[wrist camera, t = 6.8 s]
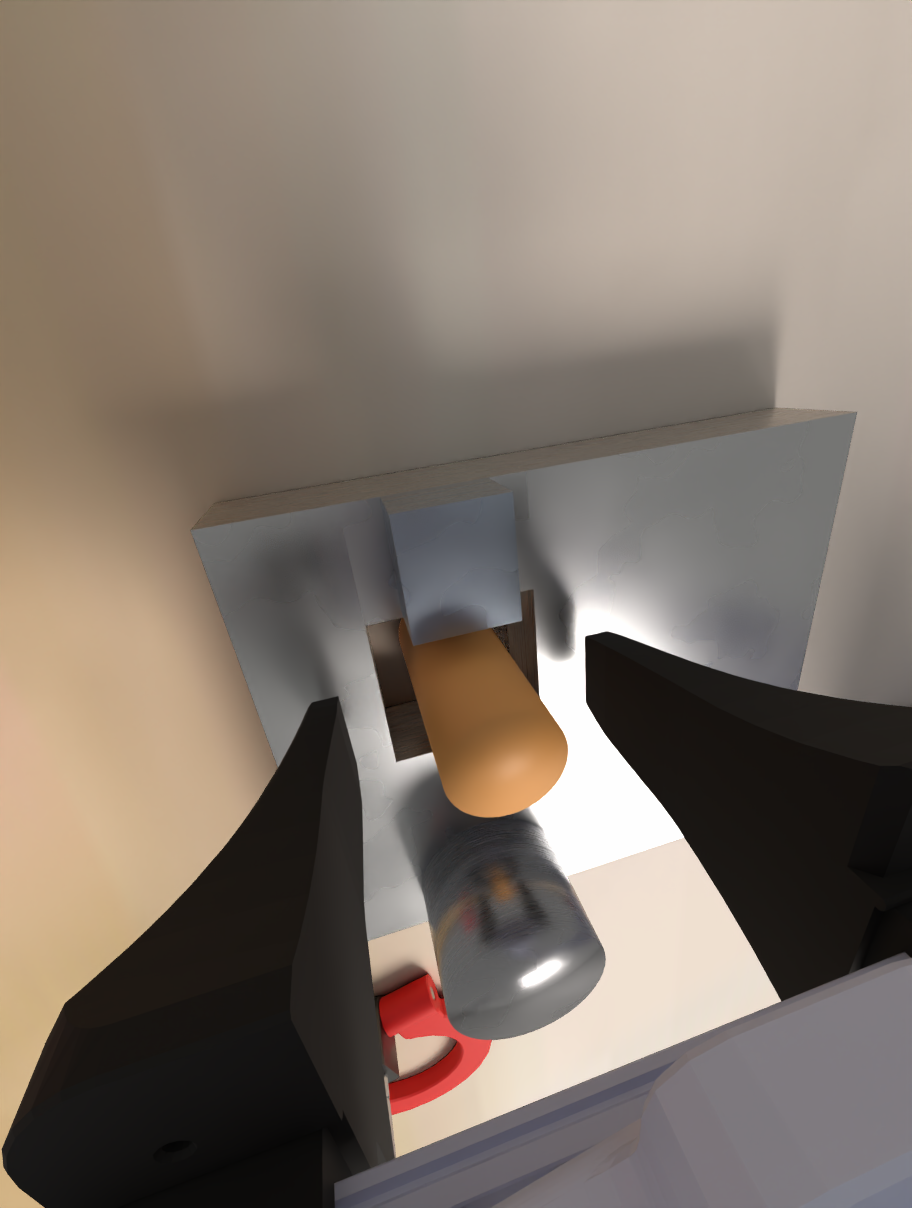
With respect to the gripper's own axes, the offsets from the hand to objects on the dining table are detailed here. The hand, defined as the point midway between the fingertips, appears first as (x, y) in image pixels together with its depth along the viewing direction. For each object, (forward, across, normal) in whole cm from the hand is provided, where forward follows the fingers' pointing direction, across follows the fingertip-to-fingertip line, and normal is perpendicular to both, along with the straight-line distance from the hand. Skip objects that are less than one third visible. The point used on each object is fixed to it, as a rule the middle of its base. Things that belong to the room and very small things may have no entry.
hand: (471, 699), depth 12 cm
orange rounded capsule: (+3, 0, 0) cm, 3 cm away
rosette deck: (+3, -3, +2) cm, 5 cm away
